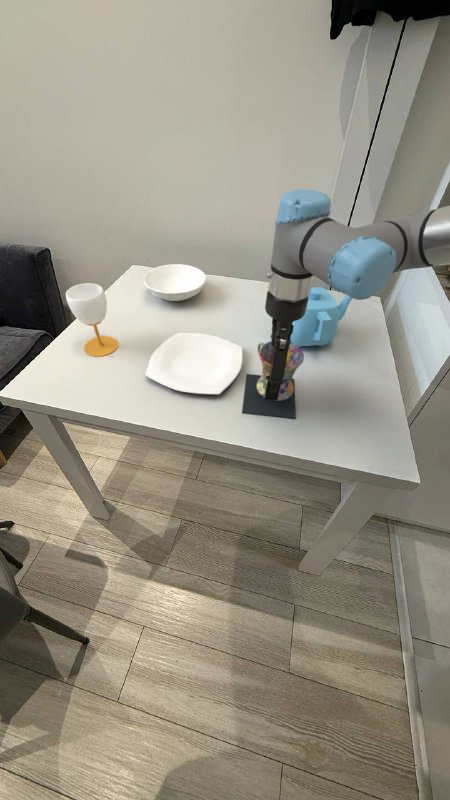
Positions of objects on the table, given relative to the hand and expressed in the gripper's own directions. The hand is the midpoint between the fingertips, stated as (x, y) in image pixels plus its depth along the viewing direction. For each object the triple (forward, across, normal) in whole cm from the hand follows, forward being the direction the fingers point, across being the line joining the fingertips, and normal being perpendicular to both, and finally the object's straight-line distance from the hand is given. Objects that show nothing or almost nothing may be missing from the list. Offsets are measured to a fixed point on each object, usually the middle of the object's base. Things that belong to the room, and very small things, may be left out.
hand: (271, 383), depth 75 cm
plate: (+4, -8, -19) cm, 21 cm away
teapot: (+4, -26, +11) cm, 29 cm away
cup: (+4, -12, -46) cm, 48 cm away
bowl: (+4, -42, -32) cm, 53 cm away
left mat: (+4, 0, 0) cm, 4 cm away
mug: (+2, -1, 0) cm, 2 cm away
